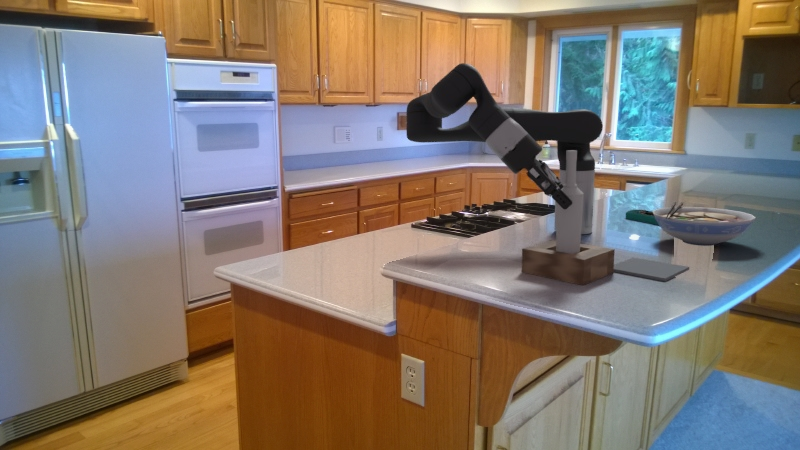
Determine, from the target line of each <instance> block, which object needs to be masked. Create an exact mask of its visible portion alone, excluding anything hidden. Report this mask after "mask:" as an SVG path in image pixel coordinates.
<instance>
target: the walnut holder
mask: <svg viewBox="0 0 800 450" xmlns="http://www.w3.org/2000/svg"><path fill="white" fill-rule="evenodd" d="M521 249H522V251H521V273H525V274H529V275H534V276H539V277H544V278H548V279H553V280H557V281H562V282H567V283H572V284H575V285H576V284H577V285H580V286H584V285H587V284H591V283H592V282H596V281H597V280H600V279H601V278H605V277H608V276H609V275H611V274H612V275H613V274H614V272H613V270H614V265H615V248H610V247H609V248H608V247H604V246H596V245H589V244H584V243H580V252H579V253H576V254H570V253H564V252H558V251H556V239H552V240H547V241H544V242H541V243H538V244H534V245H530V246H527V247H526V246H525V247H522V248H521Z"/></svg>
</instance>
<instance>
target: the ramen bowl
mask: <svg viewBox="0 0 800 450" xmlns="http://www.w3.org/2000/svg"><path fill="white" fill-rule="evenodd" d="M676 205H677V202H676V201H673V202H672V204H671V206H670V207H662V208H657V209H654V210H652V212H653V214H654V216H655V219H656V221H657V222H658V224H659V225H658V226H659V227H660V228H661V230H662V231H663V232H665V233H666V234H668V235H669V236H671V237H673V238H676V239H678V240H681V241H682V243H685V244H687V245H692V246H701V247H703V246H704V247H707V246H708V247H710V246H716V245H717V244H719V243H725V242H728V241H731V240H733V239H735V238H737V237H739V236H742V234H743V233H744V232H746V231H747V230H748V229H749V228H750V227H751V225H752V224H753V223H754V221H755V220H756V219H757V218H756V217H757V216H754V215H753V214H751V213H748V212H744V211H739V210H731V209H726V208H716V207H715V208H714V207H699V206H695V207H694V206H683V205H684V202H680V203H679V204H678V205H677V206H676Z"/></svg>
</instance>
